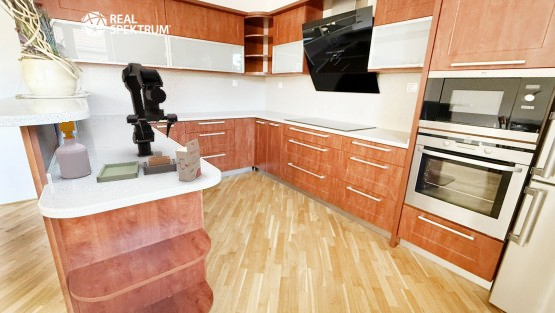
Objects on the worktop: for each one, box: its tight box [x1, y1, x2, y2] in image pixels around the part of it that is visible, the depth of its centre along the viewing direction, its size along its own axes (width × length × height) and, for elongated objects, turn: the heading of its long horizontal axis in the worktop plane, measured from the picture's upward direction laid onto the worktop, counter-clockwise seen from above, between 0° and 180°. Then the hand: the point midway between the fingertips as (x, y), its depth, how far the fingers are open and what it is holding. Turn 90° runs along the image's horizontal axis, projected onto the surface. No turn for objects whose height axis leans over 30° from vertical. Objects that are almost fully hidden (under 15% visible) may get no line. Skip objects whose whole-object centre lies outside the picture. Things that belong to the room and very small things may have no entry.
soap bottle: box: [55, 120, 93, 180], centre depth 91 cm, size 9×9×25 cm
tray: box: [96, 160, 140, 184], centre depth 97 cm, size 16×13×2 cm
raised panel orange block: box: [147, 150, 172, 166], centre depth 104 cm, size 8×11×6 cm
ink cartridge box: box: [175, 138, 202, 182], centre depth 93 cm, size 9×5×15 cm, turn 168°
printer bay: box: [142, 158, 178, 176], centre depth 101 cm, size 8×12×3 cm, turn 117°
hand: (155, 138), depth 104 cm, fingers open, 9 cm apart
